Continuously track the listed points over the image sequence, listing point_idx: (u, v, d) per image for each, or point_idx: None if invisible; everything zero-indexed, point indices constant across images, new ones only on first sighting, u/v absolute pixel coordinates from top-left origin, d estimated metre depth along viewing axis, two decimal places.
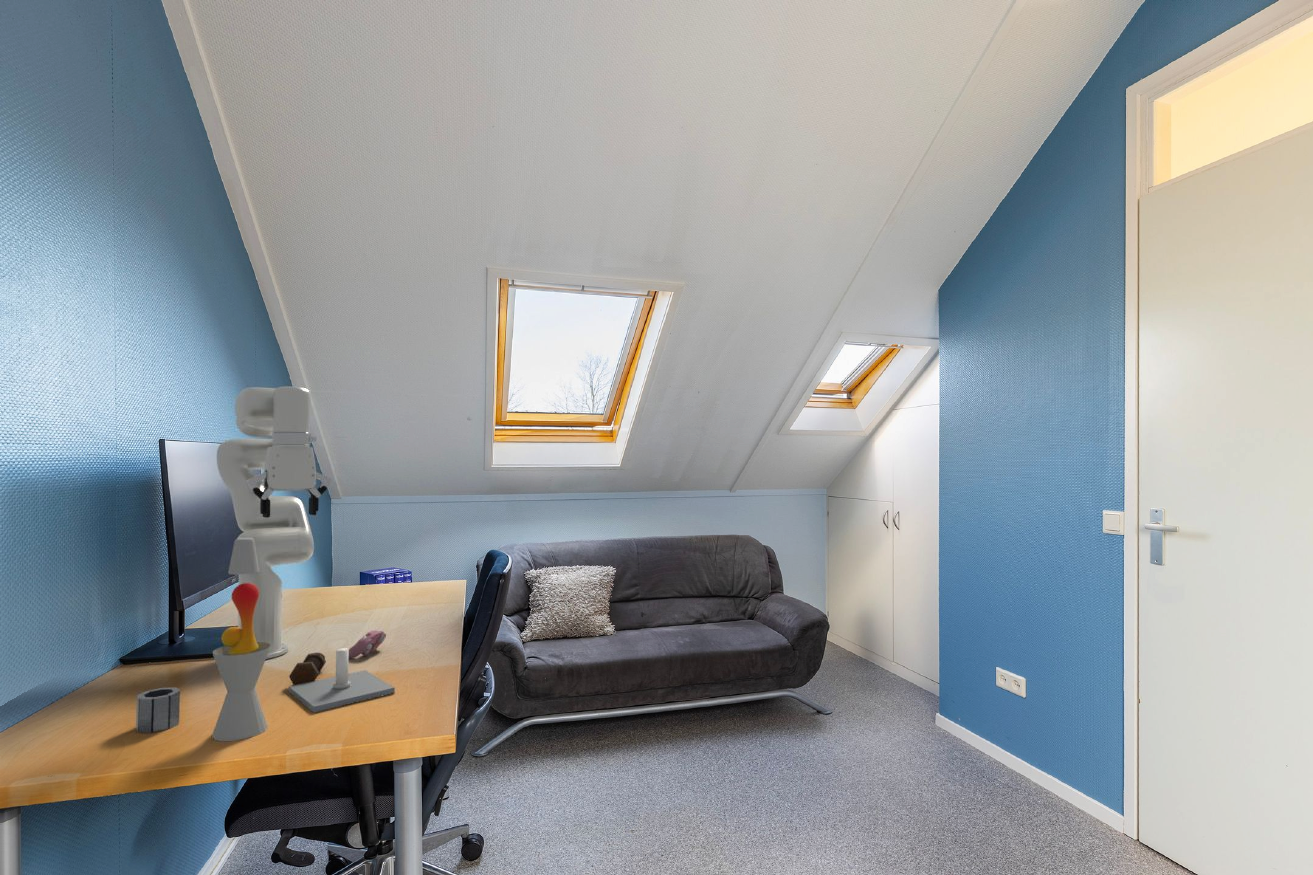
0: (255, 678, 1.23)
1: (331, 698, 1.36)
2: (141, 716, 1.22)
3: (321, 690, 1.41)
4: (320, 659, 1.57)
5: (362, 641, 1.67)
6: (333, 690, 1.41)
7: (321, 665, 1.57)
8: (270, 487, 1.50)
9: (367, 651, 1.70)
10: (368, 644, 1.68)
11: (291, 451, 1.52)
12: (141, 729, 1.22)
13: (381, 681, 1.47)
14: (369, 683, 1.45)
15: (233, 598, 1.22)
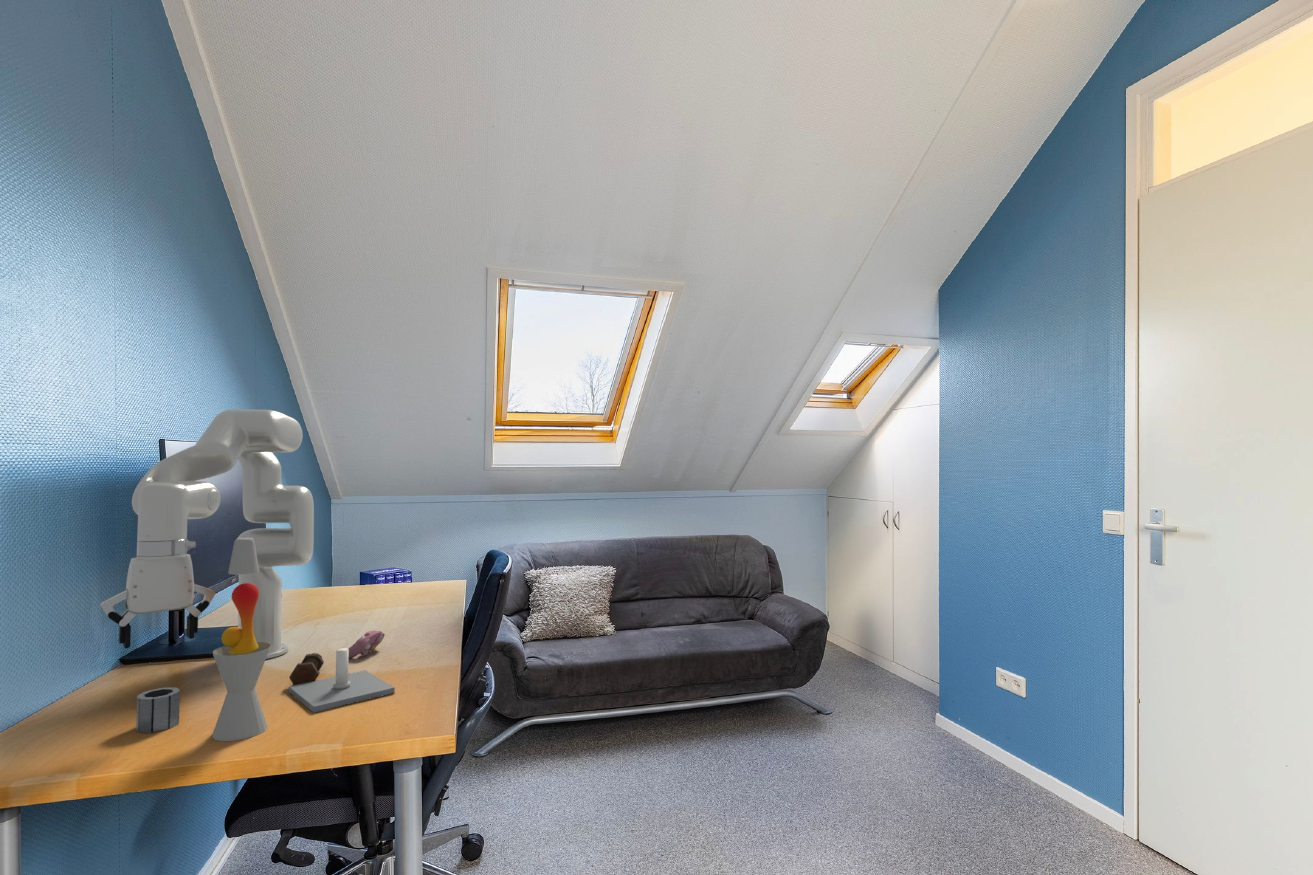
0: (255, 678, 1.23)
1: (331, 698, 1.36)
2: (141, 716, 1.22)
3: (321, 690, 1.41)
4: (318, 660, 1.57)
5: (360, 641, 1.67)
6: (333, 690, 1.41)
7: (319, 666, 1.57)
8: (130, 610, 1.21)
9: (366, 651, 1.70)
10: (367, 644, 1.68)
11: (159, 564, 1.24)
12: (141, 729, 1.22)
13: (381, 681, 1.47)
14: (369, 683, 1.45)
15: (233, 598, 1.22)
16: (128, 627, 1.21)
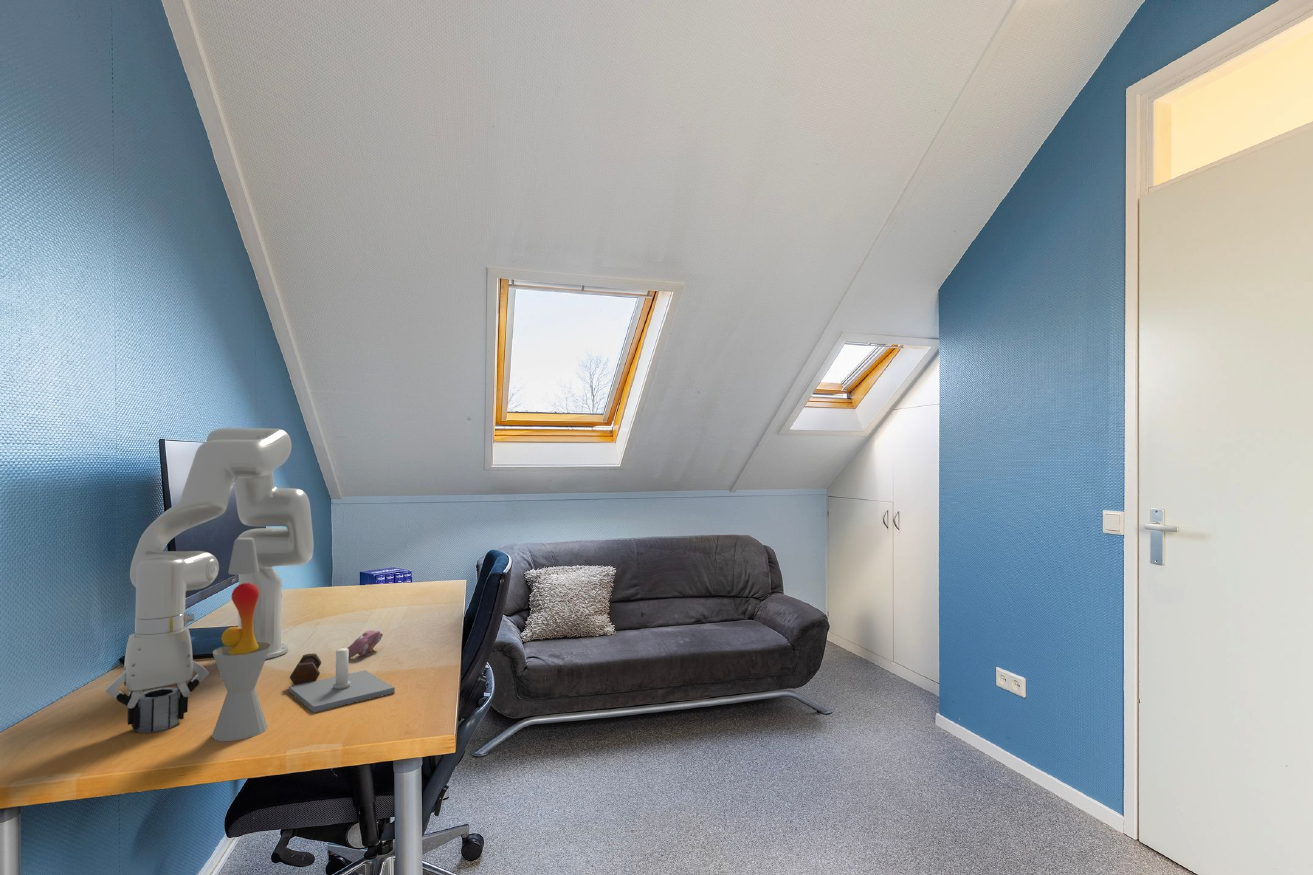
0: (255, 678, 1.23)
1: (331, 698, 1.36)
2: (141, 716, 1.22)
3: (321, 690, 1.41)
4: (316, 660, 1.56)
5: (358, 641, 1.68)
6: (333, 690, 1.41)
7: (317, 666, 1.56)
8: (129, 689, 1.21)
9: (364, 651, 1.70)
10: (365, 644, 1.68)
11: (157, 641, 1.24)
12: (141, 729, 1.22)
13: (381, 681, 1.47)
14: (369, 683, 1.45)
15: (233, 598, 1.22)
16: (136, 708, 1.22)
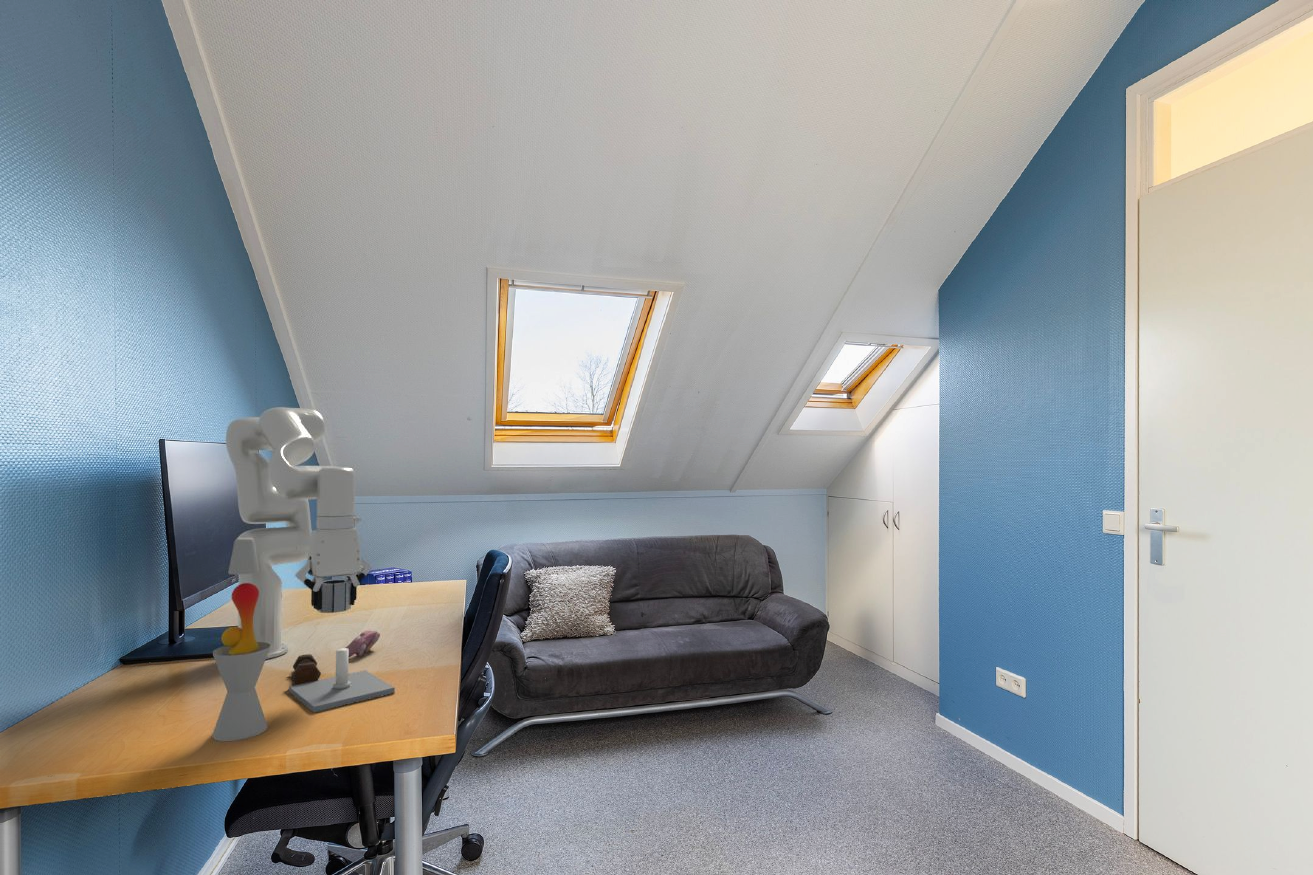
0: (255, 678, 1.23)
1: (331, 698, 1.36)
2: (323, 599, 1.44)
3: (321, 690, 1.41)
4: (312, 660, 1.56)
5: (356, 641, 1.68)
6: (333, 690, 1.41)
7: None
8: (315, 575, 1.43)
9: (361, 651, 1.70)
10: (362, 644, 1.68)
11: (335, 536, 1.45)
12: (323, 610, 1.44)
13: (381, 681, 1.47)
14: (369, 683, 1.45)
15: (233, 598, 1.22)
16: (320, 592, 1.44)
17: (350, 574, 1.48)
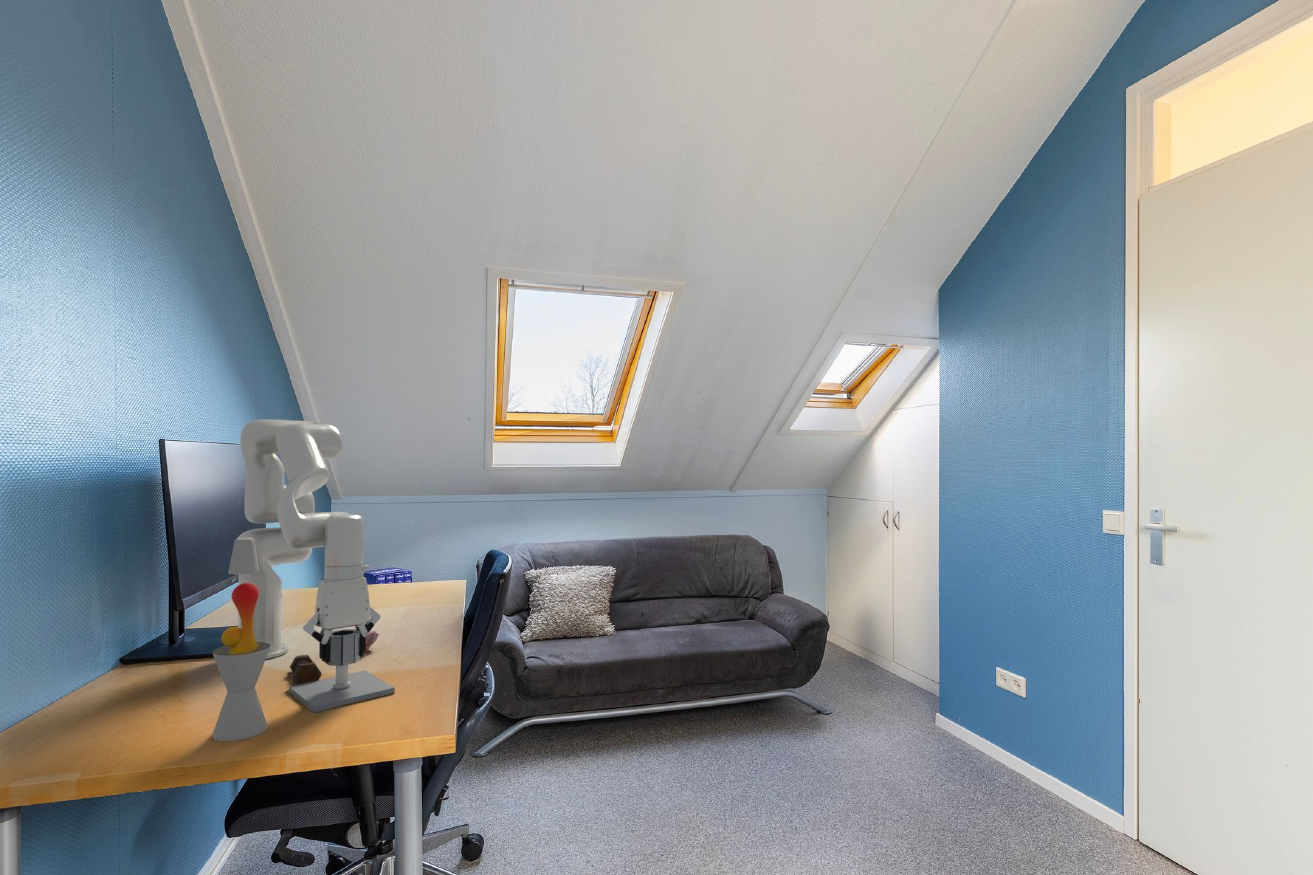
0: (255, 678, 1.23)
1: (331, 698, 1.36)
2: (332, 651, 1.40)
3: (321, 690, 1.41)
4: (310, 661, 1.56)
5: None
6: (333, 690, 1.41)
7: None
8: (323, 627, 1.39)
9: None
10: None
11: (344, 586, 1.42)
12: (332, 663, 1.40)
13: (381, 681, 1.47)
14: (369, 683, 1.45)
15: (233, 598, 1.22)
16: (328, 644, 1.40)
17: (359, 624, 1.45)
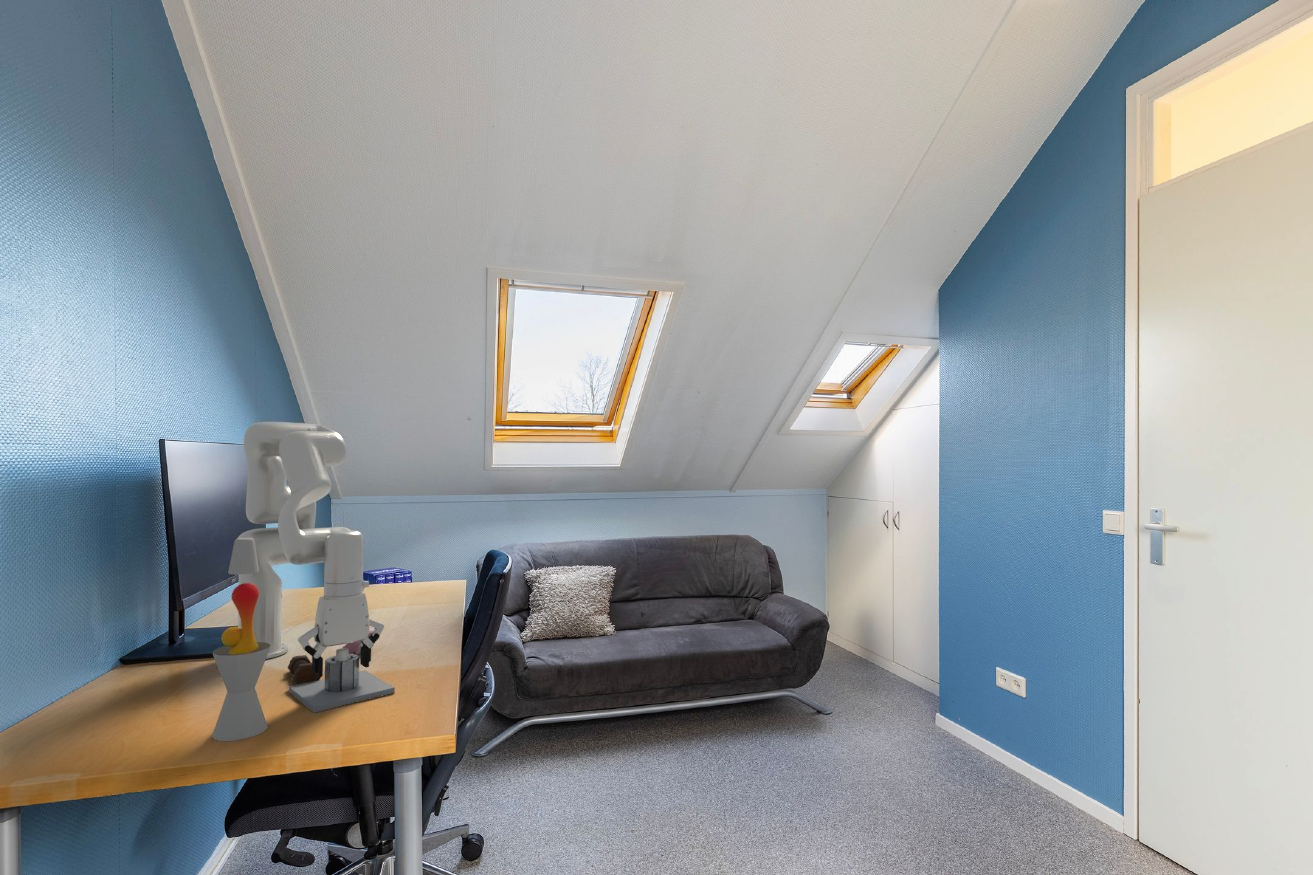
0: (255, 678, 1.23)
1: (331, 698, 1.36)
2: (331, 678, 1.40)
3: (321, 690, 1.41)
4: (308, 661, 1.55)
5: None
6: None
7: None
8: (322, 644, 1.39)
9: (358, 651, 1.70)
10: (359, 644, 1.68)
11: (344, 603, 1.42)
12: (331, 689, 1.40)
13: (381, 681, 1.47)
14: (369, 683, 1.45)
15: (233, 598, 1.22)
16: (321, 659, 1.39)
17: None
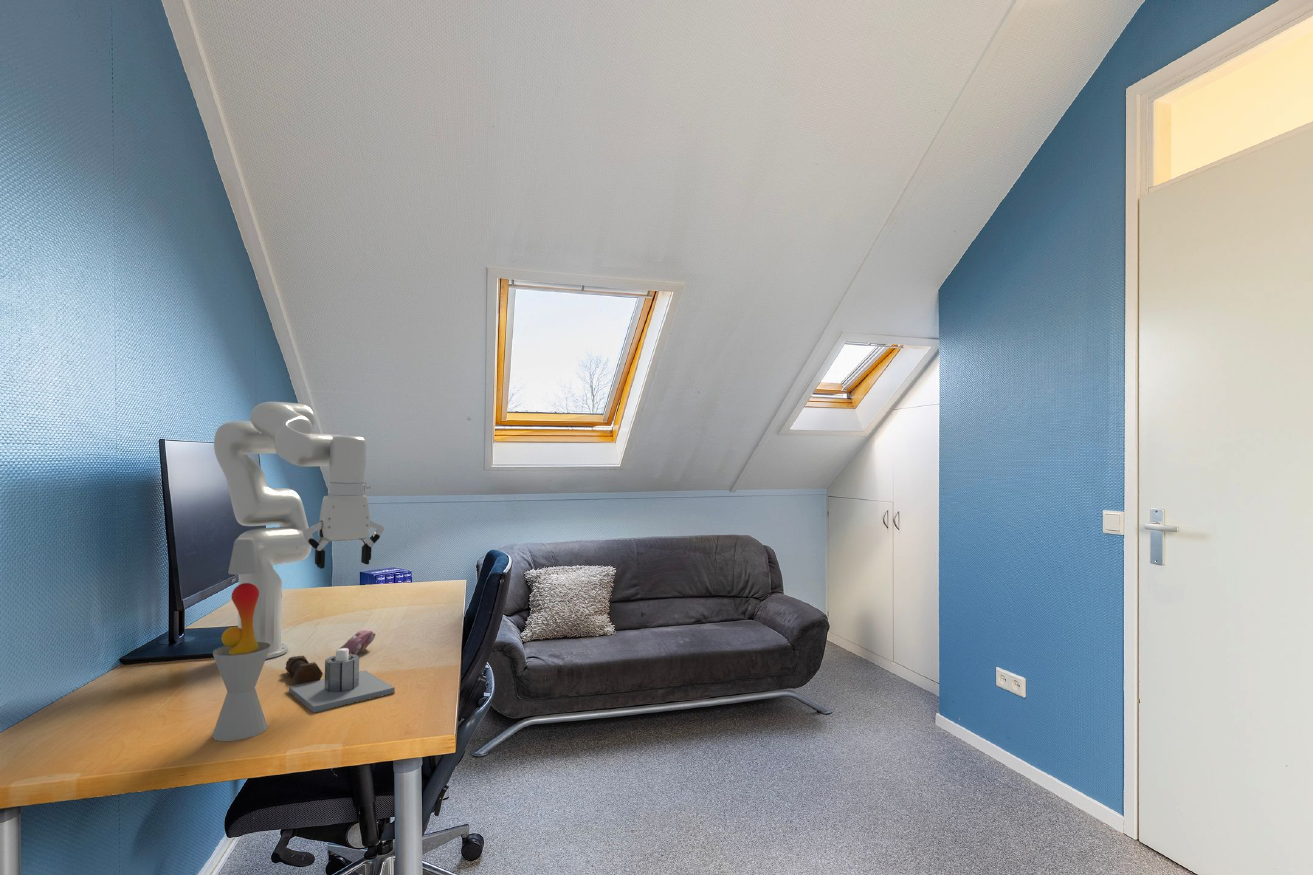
0: (255, 678, 1.23)
1: (331, 698, 1.36)
2: (331, 678, 1.40)
3: (321, 690, 1.41)
4: (306, 661, 1.55)
5: (351, 641, 1.68)
6: None
7: None
8: (325, 538, 1.49)
9: (356, 651, 1.70)
10: (358, 644, 1.68)
11: (346, 502, 1.51)
12: (331, 689, 1.40)
13: (381, 681, 1.47)
14: (369, 683, 1.45)
15: (233, 598, 1.22)
16: (323, 551, 1.49)
17: (359, 539, 1.54)
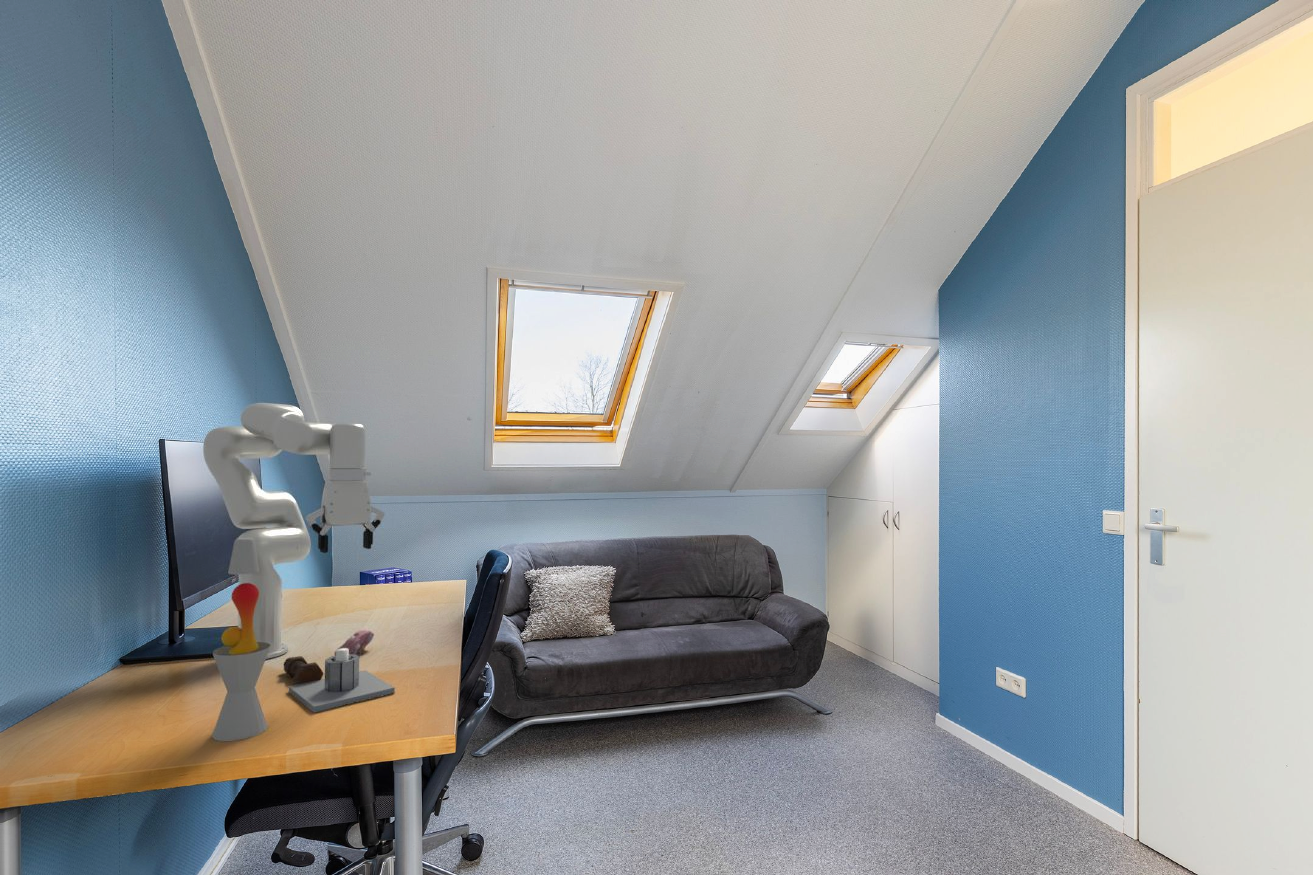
0: (255, 678, 1.23)
1: (331, 698, 1.36)
2: (331, 678, 1.40)
3: (321, 690, 1.41)
4: (304, 662, 1.55)
5: (350, 641, 1.68)
6: None
7: None
8: (328, 523, 1.53)
9: (355, 651, 1.70)
10: (356, 644, 1.68)
11: (347, 487, 1.55)
12: (331, 689, 1.40)
13: (381, 681, 1.47)
14: (369, 683, 1.45)
15: (233, 598, 1.22)
16: (326, 536, 1.53)
17: (361, 524, 1.58)
